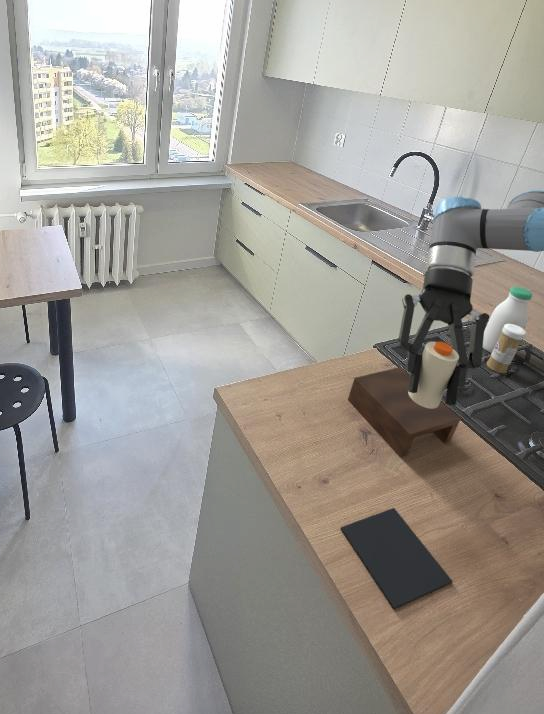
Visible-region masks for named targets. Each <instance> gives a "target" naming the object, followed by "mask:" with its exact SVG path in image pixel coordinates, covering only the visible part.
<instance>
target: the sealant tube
mask: <svg viewBox="0 0 544 714" xmlns="http://www.w3.org/2000/svg"><path fill="white" fill-rule="evenodd" d="M421 355H422V363H421V370H420V376H419V383H418V390H417V393H411V392H408V394H409V396H410V398H411V399H412V400H413V401H414V402H415V403H417V404H418V405H420V406H423V407H425V408H430V409H434V408H437V407H438V406H439V404H440V401H441V402H442V399H443V397H444V395H445V392H446V391H447V387H448V383H449V380H450V378H451V376H452V373H453V371H454V369H455V366H456V364H457V362H458V359H459V355H458V353H457V352H456V351H455V350H454V349H453V347H452V345H450V344H449V343H446V342H444V341H428V342H426V344H425V346H424V349H423V351H422V354H421ZM408 391H409V390H408Z"/></svg>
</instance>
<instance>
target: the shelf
mask: <svg viewBox="0 0 544 714" xmlns="http://www.w3.org/2000/svg"><path fill="white" fill-rule="evenodd" d="M410 378H411V374H410V373H409V372H408V371H406V369H404V368H403V367H402V366H398V367H393V368H389V369H385V370H382V371H377V372H373V373H369V374H365V375H361V376H356V377H354V378H353V380H352V381H353V382H352V385H351V388H350V391H349V395H348V397H347V400H348V402H349V403H350V404H351V405H352V406H353V407H354V409H356V410H357V412H358V413H359V414H360V415H361V416H362V417H363V418H364V419H365V420H366V422H367V423H368V424H369V425H370V426H371V427H372V428H373V429H374V430H375V431H376V432H377V434H378V435H379V436H380V437H381V438H382V439H383V440H384V442H386V443H387V445H388V446H389V447H390V448H391V449H392V450H393V451H394V452H395V453H396V454H397V455H398V457H399V458H405V457H407V455H408V453H409V451H410V448H411V446H412V443H413V441H414V439H415V438H417V437H420V436H423V435H427V434H429V433H433V434H434V435H435V436H436V437H437V438H438V439H439V440H440V441H441V442H443V444H447V443H450V442H451V440H453V439H452V438H453V437H454V435H455V432H456V430H457V428H458V425H459V423H460V421H461V418H460V417H459V416H458V415H457V414H456V413H454V411H452V410H451V409H450V408H449V407H448V406H447V405H446V404H444V403H443V402H442V400H441V401H440V404H439V406H438V407H437V408H434V409H430V408H425V407H423V406H420V405H418V404H417V403H415V402H414V401H413V400H412V399H411V398H410V396H409V394H408V390H409V385H410Z"/></svg>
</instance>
